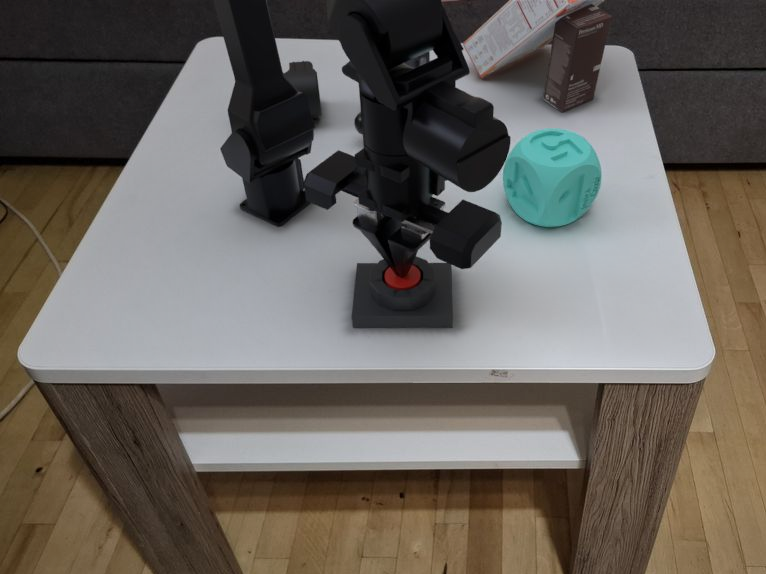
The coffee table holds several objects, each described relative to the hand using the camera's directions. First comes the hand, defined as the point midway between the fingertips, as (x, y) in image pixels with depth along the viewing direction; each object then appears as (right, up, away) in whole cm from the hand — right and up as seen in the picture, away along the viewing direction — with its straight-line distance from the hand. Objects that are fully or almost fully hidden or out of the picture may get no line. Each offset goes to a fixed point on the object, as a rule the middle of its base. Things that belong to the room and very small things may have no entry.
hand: (402, 274), depth 75 cm
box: (+23, +27, +29) cm, 45 cm away
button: (0, -1, +1) cm, 2 cm away
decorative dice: (+17, +9, +13) cm, 23 cm away
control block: (0, -2, +3) cm, 4 cm away
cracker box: (+14, +37, +36) cm, 54 cm away
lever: (-2, +25, +22) cm, 34 cm away
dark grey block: (-16, +24, +27) cm, 40 cm away
